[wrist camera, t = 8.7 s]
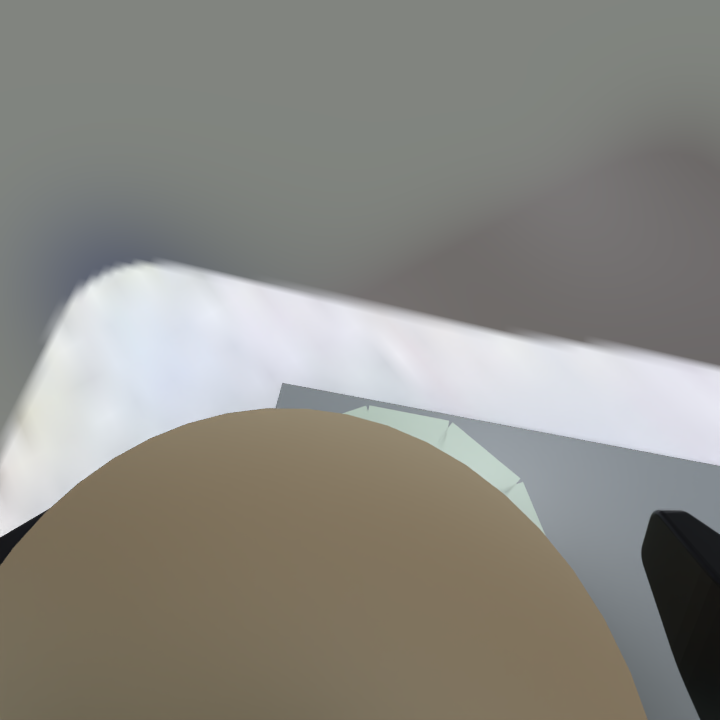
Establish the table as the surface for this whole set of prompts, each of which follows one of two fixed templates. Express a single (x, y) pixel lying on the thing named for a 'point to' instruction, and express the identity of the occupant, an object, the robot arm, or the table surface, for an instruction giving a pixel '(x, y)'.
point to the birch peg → (298, 588)
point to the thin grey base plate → (573, 515)
